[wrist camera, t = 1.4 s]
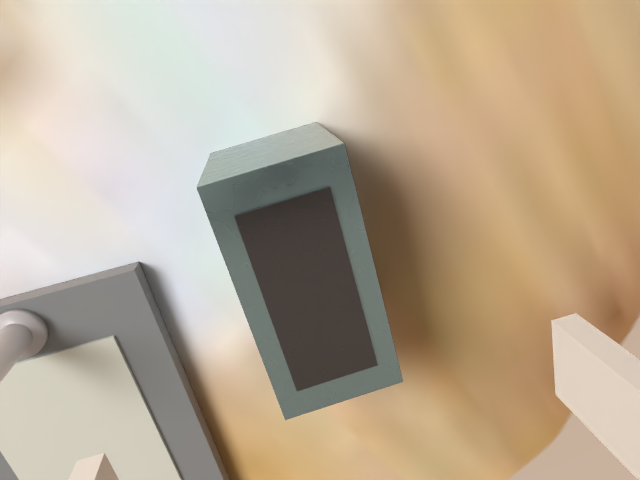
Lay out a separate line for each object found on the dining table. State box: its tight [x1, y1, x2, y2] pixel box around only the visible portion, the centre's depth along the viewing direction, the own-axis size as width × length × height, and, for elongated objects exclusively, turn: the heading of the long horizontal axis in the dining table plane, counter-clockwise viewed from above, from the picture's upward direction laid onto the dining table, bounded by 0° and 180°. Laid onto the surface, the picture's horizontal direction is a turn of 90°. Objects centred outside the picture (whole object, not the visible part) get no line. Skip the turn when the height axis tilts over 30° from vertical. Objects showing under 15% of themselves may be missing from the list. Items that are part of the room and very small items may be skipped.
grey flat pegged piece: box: [0, 262, 230, 480], centre depth 26 cm, size 14×20×8 cm
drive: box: [197, 122, 403, 420], centre depth 24 cm, size 6×12×8 cm, turn 15°
